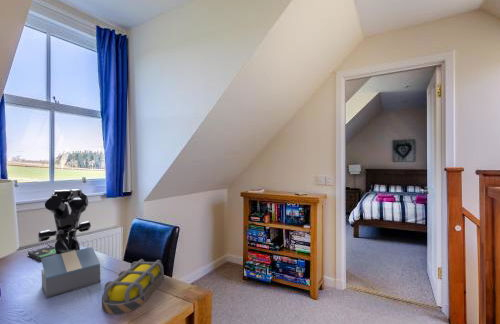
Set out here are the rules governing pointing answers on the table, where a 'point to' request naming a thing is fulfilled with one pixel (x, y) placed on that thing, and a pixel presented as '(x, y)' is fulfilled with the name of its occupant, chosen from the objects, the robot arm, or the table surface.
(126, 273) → the cage light
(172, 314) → the table surface
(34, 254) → the disk drive
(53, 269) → the lid
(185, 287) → the table surface
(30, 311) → the table surface
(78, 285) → the storage box
